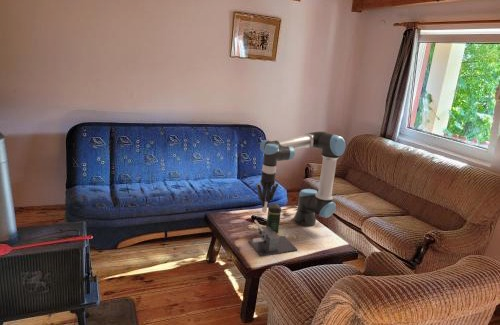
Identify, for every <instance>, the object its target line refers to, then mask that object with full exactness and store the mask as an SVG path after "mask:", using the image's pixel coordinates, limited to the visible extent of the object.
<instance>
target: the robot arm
mask: <svg viewBox="0 0 500 325" xmlns="http://www.w3.org/2000/svg"><path fill="white" fill-rule="evenodd" d="M303 148H307V149H316V150H320V151H321V153H320V155H321V157H322V162H321V163H322V164H321V169H320V170H321V171H320V177H319V182H318V190H316V189H313V188H312V189H311V188H304V189H301V190H300V192H299V195H298V201H297V202H298V203H297V210H296V212H295V215H294V216H293V222H294V223H295V224H297V225H299V226H302V227H303V226H304V227H313V226H315V225H316V222H317V219H316V215H318V216H319V217H322V218H325V219H327V218H330V217H331V216H333V214H334V213H335V211H336V208H337V205H336V203H335V202H334V196H333V195H332V193H333V187H334V181H335V180H334V179H335V174H336V169H337V161H338V159H340V157H341V156H343V154H344V152H345V150H346V141H345V139H344V138H343V136H340V135H337V134H334V133H330V132H326V131H311V132H306V133H304V134H303V135H299V136H294V137H288V138H282V139H277V140H267V139H264V140H262V141H261V143H260V145H259V149H260V151H261V152H263V160H262V167H261V168H262V169H261V171H262V172H261V176H260V177H261V179H260V181H259V183H256V184H255V186H256V188H257V195H258V196H257V197H258V199H259V201H261V205H260V206H261V207H262V208H261V211H262V212H263V213H265V214H266V213H268V206H269V204H270V202H271V201H273V199H274V196H275V193H276V191H277V188H278V187H279V184H278V183H277V182H276V181H275V179H276V172H277V165H278V164H277V163H278V162H282V161H283V162H284V161H289V160H290V161H291V160H293V159H295V158H294V157H296V150H299V149H303ZM315 214H316V215H315Z"/></svg>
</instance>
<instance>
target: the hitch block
mask: <svg viewBox="0 0 500 325" xmlns="http://www.w3.org/2000/svg"><path fill="white" fill-rule="evenodd" d="M261 227H262V229H263V230H264V232H265V233H264V234H263V233H262V232H261V231H260V229H259V228H258V234H259V235H258V238H262V237H264V240H266V242H262V243H254V244H253V242H252V239H250V240H248V243H249V244H250V246H251V245H252V246H251V247H252V248H253V250H254V251H255V252H256V254H257V255H258V256H259V257H260V258H261V257H267V256H273V255H281V254H286V253H287V254H288V253H294V252H298V248H297V247H296V246H295V245H294V244H293V243H292V242H291V241H290V240H289V239H288V238H287V237H286V236H285V235H279V234H278V235H279V236H278V235H277V234H276V233H275V232H274V231H273V230H272V229H271V228H270V227H266V226H261Z"/></svg>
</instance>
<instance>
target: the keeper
mask: <svg viewBox="0 0 500 325" xmlns="http://www.w3.org/2000/svg"><path fill="white" fill-rule="evenodd" d="M254 223H255V224H256V226H257V227H258V230H259V229H260V231H261V232H262V233H263V234H264V233H265V232H264V230H263V229H262V227H263V226H262V225H261V224H260V223H259V222H258V220H257V219H254Z"/></svg>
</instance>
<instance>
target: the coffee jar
mask: <svg viewBox="0 0 500 325" xmlns="http://www.w3.org/2000/svg"><path fill="white" fill-rule="evenodd" d="M281 214H282V207H281V206H280V205H279V203H277V202H271V203H269V205H268V206H267V215H266V216H267V218H266V226H265V227H270V228H271V229H272V230H273V231H275V232H276V233H277V234H278V235H279V231H280V230H279V229H280V222H281Z"/></svg>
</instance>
